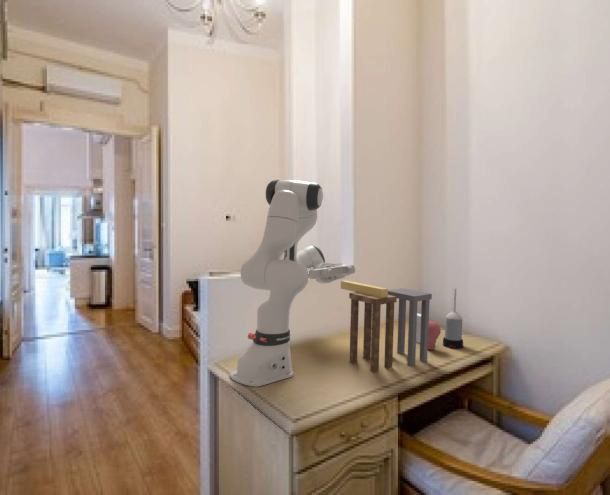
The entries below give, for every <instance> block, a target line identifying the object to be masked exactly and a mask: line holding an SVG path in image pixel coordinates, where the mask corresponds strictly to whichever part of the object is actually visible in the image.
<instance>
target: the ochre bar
mask: <svg viewBox="0 0 610 495" xmlns="http://www.w3.org/2000/svg"><path fill="white" fill-rule="evenodd" d="M340 289H341V290H346V291H350V292H358V293H362V294H367V295H371V296H376V297H380V298H385V297H388V290H389V288H385V287H381V286H377V285H372V284H365V283H361V282H355V281H351V280H340Z"/></svg>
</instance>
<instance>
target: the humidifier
mask: <svg viewBox="0 0 610 495" xmlns="http://www.w3.org/2000/svg"><path fill="white" fill-rule="evenodd" d="M451 301H452V302H451V304H452V307H451V308H452V309H451V310H452V311H451V312H449V313H447V314H446V316H445V326H444V327H445V328H444V337H443V339H442V346H444V347H446V348H448V349H455V350H460V349H463V348H464V340H463V337H462V336H463V317H462V315H461V314H460V313H458V312H457V311H456V309H457V288H454V290H453V298H452V300H451Z"/></svg>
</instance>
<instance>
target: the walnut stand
mask: <svg viewBox="0 0 610 495" xmlns="http://www.w3.org/2000/svg"><path fill="white" fill-rule="evenodd" d="M348 294H349V296H348V298H349V299H350V326H349V327H350V330H349V331H350V332H349V362H350V363H351V364H355V363H357V362H358V343H359V341H358V339H359V311H360V310H359V307H360V305H359V304H360V303H359V302H362V303H364V314H363V315H364V316H363V317H364V318H363V349H362V350H363V352H362V359H364V360H370V372H372V373H374V374H375V373H378V372H379V370H380V369H379V368H380V367H379V366H380V339H381V337H380V336H381V305H385V307H386V308H385V331H384V332H385V333H384V336H385V337H384V361H383V362H384V364H383V366H384V368H386V369H391V368H392V369H393V358H394V355H393V354H394V351H393V350H394V330H395V329H394V327H395V326H394V325H395V303H397V299H398V298H397V297H396V296H392V295H388V297H385V298H380V297H376V296H371V295H367V294H362V293H358V292H354V291H352V292H349V293H348Z"/></svg>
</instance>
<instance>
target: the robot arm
mask: <svg viewBox="0 0 610 495" xmlns="http://www.w3.org/2000/svg"><path fill="white" fill-rule="evenodd" d="M265 200H266V202H267V203H268V205H269V207H268V211H267V217H266V224H265V228H264V232H263V236H262V239H261V243H260V244H259V246H258V248H257V249H256V251H255V252H254V254H253V255H252V256H251V257H250V258H248V259H246V260H245V261H244V262H243V264H242V265H241V268H240V278H241V281H242V283H243V284H244V285H246V286H247V287H251V288H253V289H258V290H264V291H270V292H269V298H268V299H267V300H266V301H264V302H263V303H261V304H260V305H259V306H258V307H257V312H256V313H257V314H256V316H257V318H256V330H255V332H254V333H252V332H248V334H247V335H246V336H247V339H249V340H252V341H253V342H252V343H250V345H249V346H248V347H247V349H245V350H244V352H243V353H242V354H241V355H239V358H238V360H237V364H236V369H235V370H233V371H230V372H229V378H231V380H233V381H234V382H237V383H238V384H241V385H245V386H249V387H254V388H255V387H256V388H257V387H261V386H265V385H268V384H271V383H275V382H278V381H282V380H287V379H289V378H292V377H294V375H295V374H294V368H293V364H292V356H291V355H292V354H291V347H290V341H291V330H290V314H291V312H290V311H291V307H292V304H293V302H294V299H295V298H296V297H297V296H298V294H299V293H301V292H302V291H303V290H305V288H306V287H307V285H308V283H309V282H308V278H310V279H316V281H317V282H319V283H321V284H329V283H332V282H334V281H337V280H340V279H345V278H346V277H348V276H350V275H353V274H355V273H356V267H355V264H343V263H331V262H326V259H325V256H324V254H323V252H322V250H321V249H320V248H319V247H317V246H315V245H312V244H310V245H308V246H305V247H304V248H302V249H301V250H298V244H299V242H300V241H301V239H302V238H303V237H304V236H305V235H306V234H307V233H308V232H309V231H311V230H313V228H314V227H315V225H316V223H317V220H318V211H317V210H318V209H319V208H320V207H321V206H322V203H323V200H324V192H323V189H322V187H321V185H320V184H319V183H317V182H314V181H313V182H312V181H311V182H310V181H309V182H308V181H303V180H302V181H301V180H297V179H283V180H282V179H281V180H280V179H274V180H271V181H270V182H269V183H268V184H267V185H266V189H265ZM283 254H284V255H283ZM282 256H284V258H283V259H281V257H282ZM311 267H313V268H314V270H310V271H309V274H308V271H307V268H311Z"/></svg>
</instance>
